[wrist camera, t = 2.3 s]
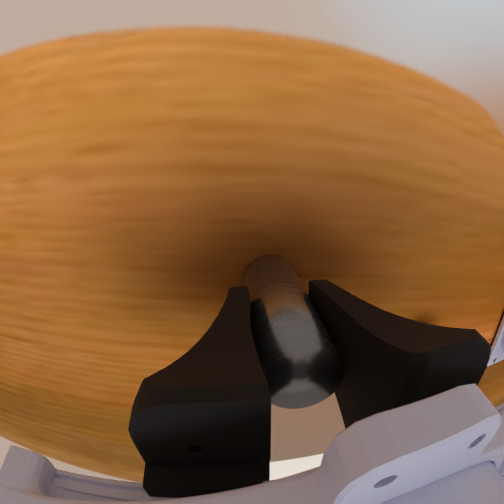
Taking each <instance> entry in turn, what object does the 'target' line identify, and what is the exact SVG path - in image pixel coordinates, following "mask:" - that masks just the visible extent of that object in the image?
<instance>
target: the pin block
mask: <svg viewBox="0 0 504 504" xmlns="http://www.w3.org/2000/svg"><path fill="white" fill-rule="evenodd" d="M343 430H345V425H344V422H343V418H342V415H341V411H340V408H339V405H338V402H337V399H336V395H335V393H333V394H332V395H331V396H329V397H328V398H326V399H325V400H323V401H321V402H319V403H317V404H315V405H312V406H309V407H305V408H299V409H287V408H281V407H278V406H275V405H273V404H272V403H271V460H270V479H269V481H270V480H277V479H280V478H284V477H288V476H291V475H294V474H298V473H301V472H304V471H307V470H310V469H313V468H316V467H319V466H320V465H321V462H322V459H323V455H324V452H325V450H326V449H327V448H328V446H329V445H330V443H331V442H332V441H333V439H334V438H335V436H336V435H337V434H339V433H340V432H342V431H343Z"/></svg>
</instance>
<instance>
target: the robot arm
mask: <svg viewBox="0 0 504 504" xmlns="http://www.w3.org/2000/svg"><path fill="white" fill-rule="evenodd" d="M309 298H310V300H311V302H312V304H313V305H314V307H315V309H316V311H317V313H318V315H319V317H320V319H321V321H322V323H323V325H324V326H325V328H326V330H327V332H328V334H329V336H330V338H331V340H332V342H333V344H334V346H335V348H336V350H337V352H338V354H339V356H340V358H341V360H342V362H343V364H344V367H345V374H344V378H343V381H342V383H341V384H340V386H339V387H338V389H337V390H336V391H335V392H334V393H335V395H336V399H337V402H338V405H339V408H340V411H341V415H342V418H343V422H344V425H345V430H343V431H342V432H340V433H339V434H337V435H336V436H335V438H334V439H333V441H332V442H331V443H330V445H329V446H328V448H327V449H326V450H325V452H324V455H323V459H322V462H321V465H320V466H319V467H316V468H313V469H310V470H307V471H304V472H301V473H298V474H294V475H291V476H288V477H284V478H280V479H277V480H270V481H269V479H270V460H271V396H270V391H269V386H268V382H267V379H266V377H265V375H264V372H263V369H262V367H261V364H260V361H259V358H258V354H257V351H256V347H255V343H254V340H253V335H252V331H251V314H250V293H249V289H248V287H247V286H243V287H231V288H230V289H229V290H228V295H227V298H226V300H225V302H224V305H223V307H222V308H221V310H220V312H219V314H218V316H217V317H216V319H215V320H214V322H213V324H212V325H211V327H210V328H209V329H208V331H207V332H206V333H205V334H204V336H203V337H202V338H201V339H200V340H199V341H198V342H197V343H196V344H195V345H194V346H193V347H192V348H191V349H190V350H189V351H188V352H187V353H186V354H184V355H183V356H182V357H180V358H179V359H178V360H176V361H175V362H173V363H172V364H170V365H169V366H167V367H166V368H164V369H162V370H160V371H158V372H156V373H155V374H153V375H151V376H149V377H147V378H145V379H144V380H143V382H142V384H141V386H140V388H139V391H138V393H137V395H136V398H135V400H134V404H133V407H132V412H131V417H130V422H129V429H128V430H129V433H130V436H131V439H132V440H133V442H134V444H135V446H136V448H137V449H138V451H139V453H140V455H141V456H142V458H143V460H144V461H145V471H144V479H143V483H137V482H127V481H118V480H111V479H104V478H98V477H92V476H86V475H81V474H76V473H71V472H67V471H62V470H57V469H55V468H54V466H53V465H52V463H51V462H50V461H49V460H48V459H47V458H46V457H44V456H43V455H41V454H39V453H37V452H34V451H30V450H26V449H23V448H19V447H16V446H10V448H9V451H8V453H7V455H6V458H5V460H4V463H3V465H2V467H1V470H0V504H504V403H502V404H501V405H499V406H497V407H496V408H495V407H494V406H493V405H492V404H491V402H490V401H489V400H488V399H487V397H486V396H485V395H484V394H483V392H482V391H481V390H480V389H479V387H478V386H477V385H478V383H479V381H480V379H481V377H482V375H483V373H484V371H485V369H486V367H487V366H490V365H493V364H495V363H497V362H499V361H501V360H503V359H504V316H503V319H502V321H501V324H500V327H499V329H498V332H497V335H496V337H495V340H494V342H493V344H492V347H491V349H490V344H489V343H488V342H487V341H486V340H485V339H484V338H483V337H482V336H481V335H480V334H479V333H478V332H477V331H476V330H475V329H462V328H449V327H442V326H436V325H431V324H426V323H421V322H418V321H414V320H410V319H407V318H403V317H400V316H398V315H395V314H392V313H390V312H387V311H384V310H382V309H380V308H378V307H375V306H373V305H371V304H369V303H367V302H365V301H363V300H361V299H359V298H358V297H356V296H354V295H352V294H350V293H349V292H347V291H345V290H343V289H342V288H340V287H338V286H336V285H335V284H333V283H331V282H329V281H327V280H324V279H323V280H313V281H309Z"/></svg>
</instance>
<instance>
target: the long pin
mask: <svg viewBox="0 0 504 504" xmlns="http://www.w3.org/2000/svg"><path fill="white" fill-rule="evenodd" d="M243 286H247V287H248V289H249V293H250V314H251V331H252V335H253V340H254V343H255V347H256V351H257V354H258V358H259V361H260V364H261V367H262V369H263V372H264V375H265V377H266V379H267V382H268V386H269V391H270V396H271V403H272V404H273V405H275V406H278V407H281V408H287V409H299V408H305V407H309V406H312V405H315V404H317V403H319V402H321V401H323V400H325V399H326V398H328V397H329V396H331V395H332V394H333V393H334V392H335V391H336V390H337V389H338V387H339V386H340V384H341V383H342V381H343V378H344V374H345V367H344V364H343V362H342V360H341V358H340V356H339V354H338V352H337V350H336V348H335V346H334V344H333V342H332V340H331V338H330V336H329V334H328V332H327V330H326V328H325V326H324V325H323V323H322V321H321V319H320V317H319V315H318V313H317V311H316V309H315V307H314V305H313V304H312V302H311V300H310V298H309V296H308V294H307V292H306V290H305V288H304V287H303V285H302V283H301V281H300V279H299V277H298V275H297V273H296V272H295V270H294V268H293V266H292V265H291V263H290V262H289V261H288V260H286V259H285V258H283V257H280V256H277V255H266V256H262V257H259V258H257V259H255V260H254V261H253V262H252V263H250V265H249V266H248V267H247V269H246V270H245V272H244V276H243Z"/></svg>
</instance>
